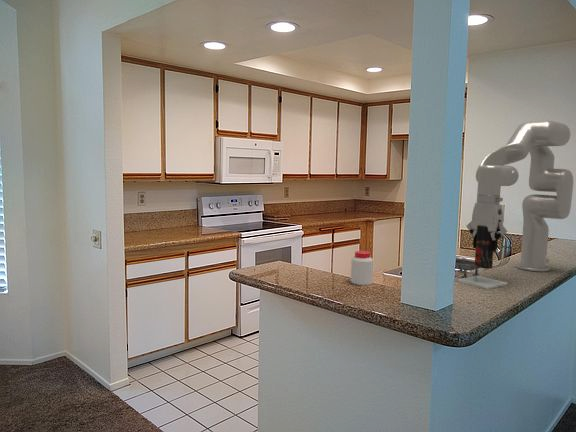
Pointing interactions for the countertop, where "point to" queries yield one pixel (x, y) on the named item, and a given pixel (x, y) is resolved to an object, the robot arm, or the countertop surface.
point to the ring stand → (466, 267)
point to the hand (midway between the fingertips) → (484, 248)
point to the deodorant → (483, 248)
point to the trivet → (482, 282)
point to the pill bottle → (362, 268)
